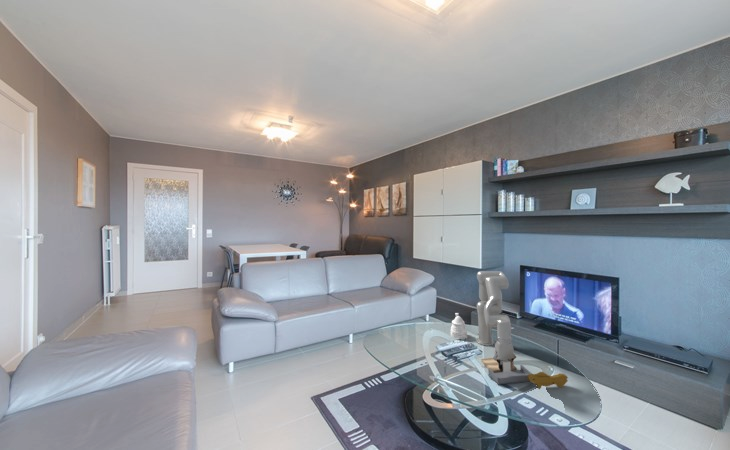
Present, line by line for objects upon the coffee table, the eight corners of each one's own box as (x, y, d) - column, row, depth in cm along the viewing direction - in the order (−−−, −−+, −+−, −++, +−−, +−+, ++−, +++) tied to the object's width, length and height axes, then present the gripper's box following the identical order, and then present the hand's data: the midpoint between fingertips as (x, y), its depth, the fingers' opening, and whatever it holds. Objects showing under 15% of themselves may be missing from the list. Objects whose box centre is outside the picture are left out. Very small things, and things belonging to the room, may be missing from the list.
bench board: (481, 361, 195) (481, 359, 195) (503, 359, 197) (503, 356, 197) (492, 373, 182) (492, 370, 181) (516, 370, 183) (516, 367, 183)
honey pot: (447, 334, 240) (446, 312, 239) (460, 331, 243) (460, 310, 242) (456, 340, 227) (456, 318, 226) (470, 337, 231) (470, 315, 230)
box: (488, 374, 181) (488, 368, 181) (521, 370, 183) (521, 364, 183) (498, 385, 170) (498, 378, 170) (533, 381, 172) (533, 374, 172)
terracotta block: (502, 363, 188) (502, 354, 188) (509, 363, 189) (509, 354, 188) (506, 367, 184) (506, 358, 183) (513, 366, 184) (513, 357, 184)
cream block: (499, 368, 177) (499, 358, 177) (506, 367, 178) (506, 358, 178) (503, 372, 173) (503, 362, 173) (510, 371, 173) (510, 361, 173)
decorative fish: (528, 387, 164) (532, 370, 164) (525, 384, 167) (528, 367, 167) (566, 393, 165) (569, 376, 165) (562, 390, 168) (565, 373, 168)
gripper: (513, 336, 179) (514, 364, 180) (487, 338, 177) (488, 367, 178) (521, 341, 172) (522, 371, 173) (494, 344, 170) (495, 374, 171)
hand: (504, 369), depth 175 cm, fingers closed on cream block, 4 cm apart
